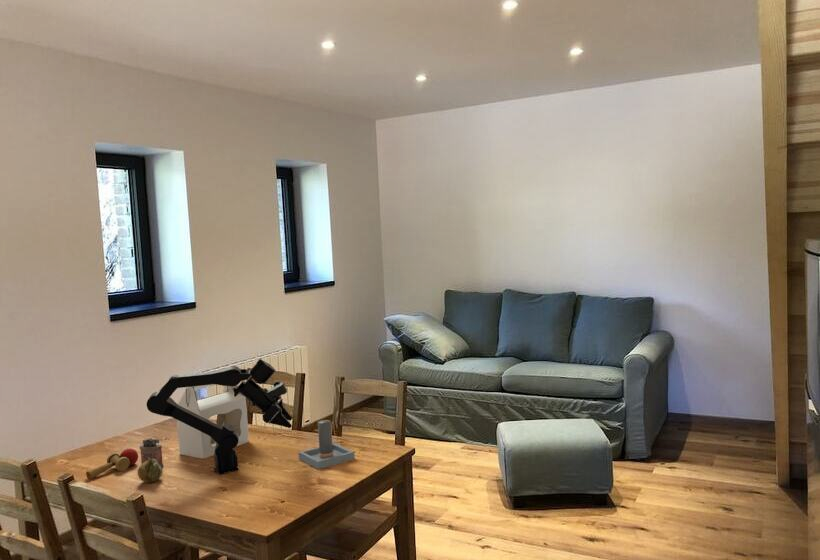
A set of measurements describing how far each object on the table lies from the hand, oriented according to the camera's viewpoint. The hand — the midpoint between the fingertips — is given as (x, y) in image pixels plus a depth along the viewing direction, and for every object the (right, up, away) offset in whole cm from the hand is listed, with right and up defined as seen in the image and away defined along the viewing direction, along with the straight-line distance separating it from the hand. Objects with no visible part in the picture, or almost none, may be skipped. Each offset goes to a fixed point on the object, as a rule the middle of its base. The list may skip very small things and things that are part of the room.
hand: (291, 423), depth 228 cm
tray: (+12, -13, +2) cm, 17 cm away
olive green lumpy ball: (-44, -17, -9) cm, 48 cm away
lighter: (-49, -16, +4) cm, 52 cm away
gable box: (-32, -14, +22) cm, 42 cm away
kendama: (-61, -17, +2) cm, 64 cm away
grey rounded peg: (+12, -12, +2) cm, 17 cm away
